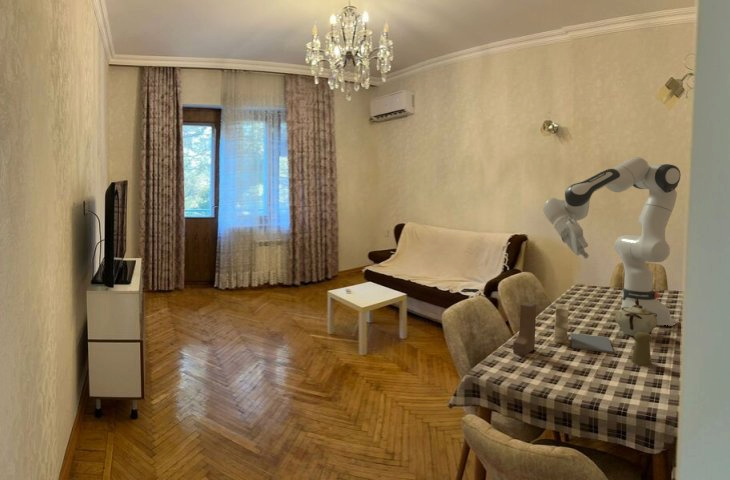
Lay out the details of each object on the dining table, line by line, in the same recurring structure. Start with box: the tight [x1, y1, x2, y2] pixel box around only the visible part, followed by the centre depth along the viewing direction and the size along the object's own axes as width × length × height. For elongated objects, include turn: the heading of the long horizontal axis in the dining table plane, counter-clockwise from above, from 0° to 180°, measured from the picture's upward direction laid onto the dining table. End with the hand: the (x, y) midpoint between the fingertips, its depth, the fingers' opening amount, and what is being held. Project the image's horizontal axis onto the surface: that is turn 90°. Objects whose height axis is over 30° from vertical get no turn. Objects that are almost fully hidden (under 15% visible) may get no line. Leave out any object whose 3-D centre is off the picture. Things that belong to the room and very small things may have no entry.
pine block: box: [553, 303, 570, 345], centre depth 173 cm, size 4×7×14 cm, turn 157°
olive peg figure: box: [630, 332, 653, 367], centre depth 151 cm, size 6×6×11 cm
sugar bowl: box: [614, 299, 658, 337], centre depth 180 cm, size 20×15×15 cm
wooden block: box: [512, 302, 537, 357], centre depth 162 cm, size 9×4×18 cm, turn 134°
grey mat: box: [569, 332, 614, 354], centre depth 170 cm, size 14×16×1 cm
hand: (586, 251), depth 177 cm, fingers open, 8 cm apart
